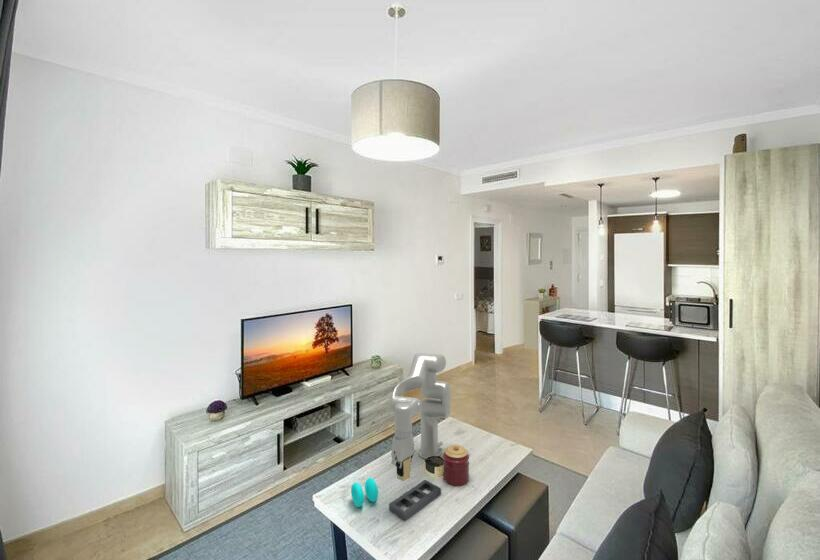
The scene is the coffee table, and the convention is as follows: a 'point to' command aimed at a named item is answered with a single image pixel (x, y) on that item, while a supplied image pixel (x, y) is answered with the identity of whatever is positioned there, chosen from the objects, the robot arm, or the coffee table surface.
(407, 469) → the brass peg
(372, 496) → the donuts
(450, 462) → the canister
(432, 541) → the coffee table surface
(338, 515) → the coffee table surface
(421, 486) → the grey flat slotted block
